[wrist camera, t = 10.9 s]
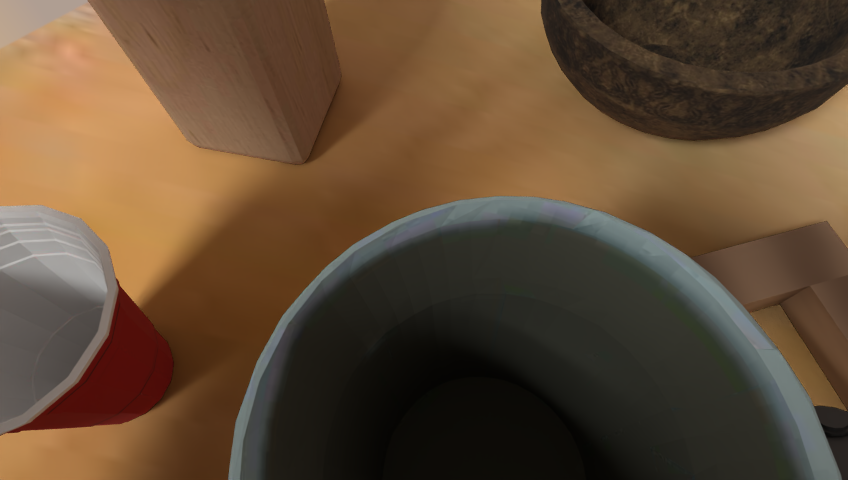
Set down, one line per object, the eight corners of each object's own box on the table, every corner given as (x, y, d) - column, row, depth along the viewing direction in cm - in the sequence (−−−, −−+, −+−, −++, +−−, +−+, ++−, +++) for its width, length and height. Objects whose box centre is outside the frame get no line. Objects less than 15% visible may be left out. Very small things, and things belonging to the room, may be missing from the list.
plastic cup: (183, 484, 28) (27, 473, 18) (8, 457, 29) (-238, 432, 19) (240, 303, 33) (145, 210, 23) (88, 286, 34) (-71, 189, 24)
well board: (663, 725, 23) (691, 753, 20) (514, 320, 32) (520, 303, 29) (1038, 590, 25) (1110, 601, 22) (796, 242, 34) (826, 220, 31)
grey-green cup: (589, 709, 16) (873, 1126, 5) (301, 574, 18) (82, 677, 7) (641, 395, 20) (855, 272, 9) (405, 315, 22) (363, 140, 11)
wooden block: (308, 172, 38) (188, -116, 20) (187, 150, 40) (-22, -136, 22) (347, 76, 43) (277, -229, 25) (237, 60, 44) (97, -240, 26)
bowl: (663, -37, 48) (712, -160, 39) (864, 111, 39) (988, -5, 30) (471, 53, 43) (477, -62, 34) (649, 245, 34) (719, 155, 25)
